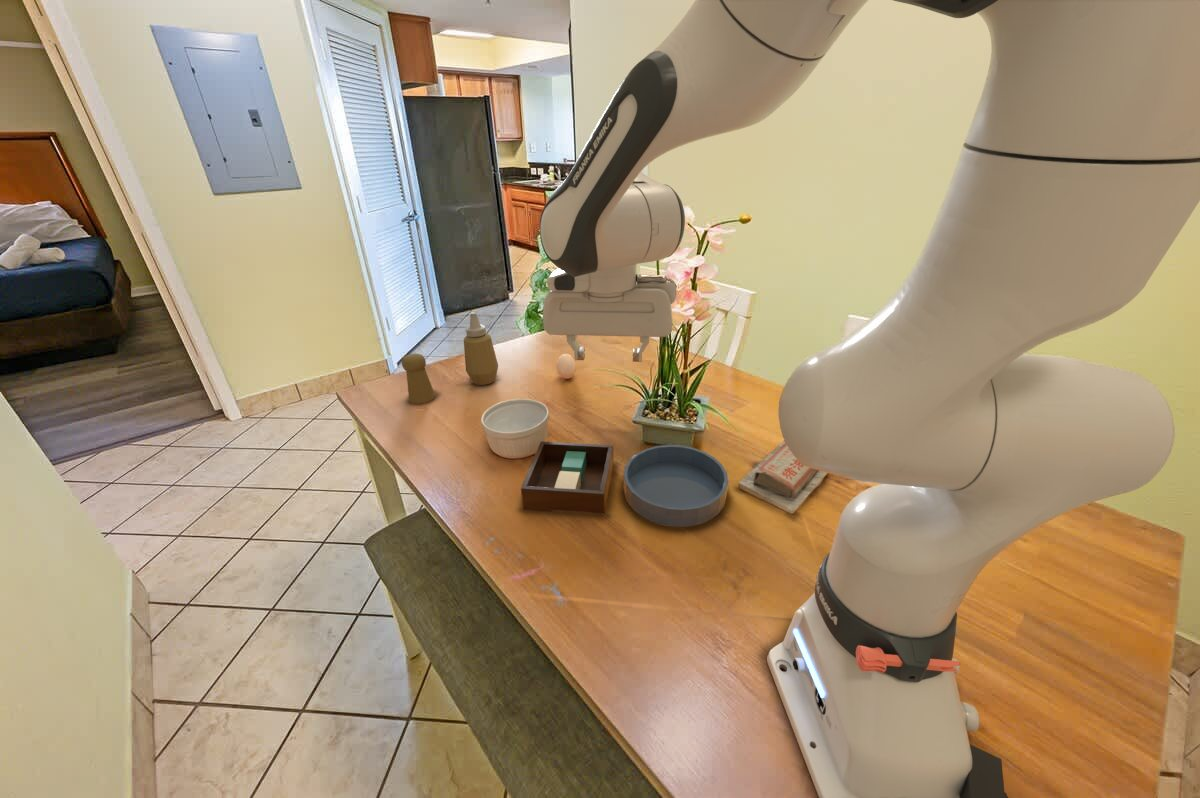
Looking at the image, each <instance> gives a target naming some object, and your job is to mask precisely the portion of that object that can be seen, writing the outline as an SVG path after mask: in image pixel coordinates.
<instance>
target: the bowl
mask: <svg viewBox="0 0 1200 798" xmlns="http://www.w3.org/2000/svg"><path fill="white" fill-rule="evenodd" d="M728 489H729V475H728V473H727V470H726V469H725V467H724V465H723V464H722V463H721V462H720V461H719V460H718V459H717V458H715V457H714V456H713V455H711V454H709V453H707V452H706V451H704V450H701V449H697V448H695V447H692V446H686V445H680V444H664V445H662V444H661V445H654V446H651V447H648V448H647V447H646V448H645V449H643V450H641V451H639V452H637V453H635V454H634V455H633V456H632V457H631V458H629V460H628V461H627V463H626V465H625V466H624V471H623V493H624V498H625V500H626V503H628V505H629V507H630V508H631V509H632V510H633V511H634V512H635V513H636V514H638V515H639V516H641V517H642V518H644V519H646V520H648V521H650V522H652V523H655V524H659V525H661V526H662V525H663V526H667V527H675V528H678V527H679V528H681V527H682V528H683V527H694V526H697V525H702V524H704V523H706V522H708V521H709V522H710V520H712V519H714V518H715V517H716V516H718V515H719V514H720V513H721V512H722V511H723V509H724V508H725V505H726V501H727V495H728Z"/></svg>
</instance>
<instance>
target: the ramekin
mask: <svg viewBox="0 0 1200 798" xmlns="http://www.w3.org/2000/svg"><path fill="white" fill-rule="evenodd" d="M549 421H550V410H549V408H548V407H547V405H546V404H545V403H543V402H541V401H539V400H537V399H532V398H531V399H530V398H513V399H512V398H511V399H506V400H503V401H500V402H498V403H495V404H492V405H491V406H490V407H488V408H487V409H486V410H485V411H484V412H483V413H482V415H481V418H480V423H481V427H482V430H483V431H484V434H485V438H486V440H487V443H488V447H489V448H490V449H491V451H492V452H493V453H495V454H496V455H498V456H499V457H502V458H505V459H514V460H516V459H524V458H528V457H531V456H533V455H535V454H536V452H537V449H538V447H539V445H540V443H541V442H548V438H549Z"/></svg>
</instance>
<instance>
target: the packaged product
mask: <svg viewBox="0 0 1200 798" xmlns="http://www.w3.org/2000/svg"><path fill="white" fill-rule="evenodd" d="M828 474H829V473H826V472H823V471H819V470H816V469H813V468H809V467H806V466H804V465H802V464H801V463H800V462H799V461H798V460H797V459H796V457H795V456H794V455H793V454H792V452H791V451H790V449H789V448H788V446H787V444H786V442H785V440H784V439H783V441H782V442H781V443H780V444H779V445H777V447H775V448H774V449H773V450H772V451H771V452H770V453H769V454H768V455H767V456H765V457H764V458H763V460H761V461H760V462H759V463H758V464H756V466H755V467H754V468H753V469H751V470H750V471H749V472H748V473H746V475H745V476H744V477H743V478H742V479H741V480H739V481H738V488H739V489H740V490H742V491H744V492H746V493H748V494H750V495H752V496H754V497H756V498H757V499H760V500H762V501H764V502H767V504H770V505H772V506H775V507H776V508H779V509H780V510H782V511H784V512H786V513H789V514H792V515H793V514H795V513H796V511H797V510H798V509H799V508H800V507H801V506H802V505H803V503H805V501H806V499H807V498H808V497H809V496H810V495H811V494H812V493H813V491H814V490H815V489H817V488H818V487H819V486H820V485H821V484H822V482H823V480H824V478H825V477H826V476H827V475H828Z"/></svg>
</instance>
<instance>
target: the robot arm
mask: <svg viewBox="0 0 1200 798" xmlns="http://www.w3.org/2000/svg"><path fill="white" fill-rule="evenodd" d="M892 1H894V2H898V3H902V4H907V5H911V6H915V7H918V8H922V9H925V10H928V11H932V12H935V13H938V14H941V15H943V16H947V17H950V18H953V19H965V18H969V17H972V16H974V15H976V14H978V15H979V16H980V17H981V18H982V20H983V21H984V22H985V24H986V26H987V29H988V32H989V36H990V43H991V44H990V45H991V46H990V47H991V49H990V51H991V52H990V61H989V65H988V71H987V75H986V78H985V81H984V85H983V88H982V91H981V95H980V98H979V100H978V103H977V106H976V109H975V112H974V114H973V117H972V120H971V122H970V125H969V128H968V130H967V133H966V136H965V139H964V143H963V145H962V147H961V150H960V154H959V156H958V159H957V162H956V164H955V167H954V170H953V172H952V176H951V179H950V181H949V184H948V186H947V189H946V191H945V194H944V197H943V200H942V202H941V205H940V207H939V210H938V212H937V215H936V216H935V219H934V222H933V224H932V227H931V229H930V231H929V233H928V236H927V239H926V240H925V243H924V245H923V248H922V250H921V252H920V254H919V256H918V258H917V260H916V262H915V264H914V265H913V267H912V268H911V270H910V272H909V273H908V274H907V276H906V277H905V279H904V280H903V282H902V283H901V285H900V286H899V287H898V288H897V290H896V291H895V292H894V293H893V295H892V296H891V297H890V298H889V299H888V300H887V301H886V302H885V303H884V304H883V305H882V306H881V308H880V309H878V310H877V311H876V312H875V313H874V314H873V315H872V316H871V317H870V318H868V319H867V320H866V321H865V322H863V324H862V325H860V326H859V327H857V328H856V329H855V330H854V331H852V332H851V333H849V334H848V335H846V336H845V337H843V338H842V339H840V340H838V341H837V342H835V343H833V344H831V345H829V346H827V347H825V348H823V349H821V350H818V351H817V352H814V353H811V354H810V355H808V356H807V357H806V358H805V359H803V360H802V361H801V362H800V363H799V364H798V365H797V366H796V367H795V368H794V369H793V370H792V372H791V373H790V374H789V376H788V377H787V379H786V382H785V384H784V385H783V388H782V390H781V394H780V397H779V400H778V401H779V402H778V411H777V413H778V414H777V415H778V423H779V429H780V432H781V436H782V438H783V441H784V440H785V442H786V444H787V446H788V448H789V449H790V451H791V452H792V454H793V455H794V456H795V457H796V459H797V460H798V461H799V462H800V463H801V464H802V465H804V466H806V467H809V468H813V469H816V470H819V471H823V472H826V473H828V474H829V475H833V476H838V477H841V478H845V479H849V480H852V481H856V482H861V483H867V484H868V483H869V484H875V485H873V486H871V487H869V488H866V489H865V490H863V491H860V492H859V493H858V494H856V495H855V496H853V498H852V499H851V500H850V501H849V502H848V503H847V504H846V505H845V507H844V508H843V510H842V511H841V514H840V517H839V521H838V524H837V527H836V531H835V534H834V538H833V541H832V543H831V548H830V551H829V552H828V553H827V554H826V555H825V557H824V558H823V561H822V563H821V564H820V565H819V568H818V571H817V574H816V581H815V585H814V592H813V593H812V594H811V596H810V597H808V598H807V600H806V601H805V602H803V604H801V606H799V607H798V608H797V610H796V611H795V612H794V613H793V614H794V615H793V617H792V619H791V622H790V623H789V626H788V629H787V631H786V634H785V636H784V639H783V641H782V642H780V643H778V644H777V645H775V646H774V647H772V648H771V649H770V650H769V652H768V654H767V657H766V662H767V666H768V668H769V671H770V673H771V675H772V679H773V681H774V683H775V686H776V689H777V692H778V694H779V697H780V700H781V702H782V705H783V707H784V711H785V712H786V716H787V718H788V721H789V723H790V726H791V729H792V731H793V734H794V736H795V740H796V742H797V743H798V747H799V749H800V752H801V754H802V757H803V760H804V762H805V765H806V767H807V771H808V773H809V775H810V778H811V780H812V784H813V785H814V788H815V791H816V794H817V796H818V798H1009V796H1008V795H1007V793H1006V792H1005V783H1004V773H1003V763H1002V759H1001V757H997V756H995V755H993V754H991V753H990V752H987V751H986V750H984V749H981V748H980V747H977V746H975V745H973V744H970V740H969V735H968V732H970V733H977V732H978V730H979V728H980V717H979V713H978V710H977V708H976V706H975V705H973V704H972V703H968V702H965V701H961V696H960V692H959V687H958V683H957V679H956V675H957V674H959V673H960V666H961V662H960V661H958V659H956V658H954V650H955V639H956V637H957V635H958V623H957V619H958V609H959V607H960V606H961V604H962V602H963V601H964V599H965V597H966V596H967V594H968V592H969V590H970V589H971V587H972V586H973V584H974V583H975V581H976V579H977V578H978V577H979V575H980V573H981V572H982V571H983V570H984V569H985V568H986V566H988V564H989V563H990V562H992V560H994V559H995V558H996V557H997V556H998V555H999V554H1001V553H1002V552H1003V551H1005V550H1006V549H1008V548H1009V547H1010V546H1012V545H1013V544H1015V543H1017V542H1018V541H1019V540H1020V539H1021V538H1024V537H1025V536H1026V535H1028V534H1030V533H1031V532H1033V531H1034V530H1036V529H1038V528H1039V527H1041V526H1043V525H1045V524H1047V523H1048V522H1050V521H1052V520H1055V519H1056V518H1058V517H1060V516H1062V515H1064V514H1066V513H1069V512H1070V511H1073V510H1076V509H1078V508H1081V507H1083V506H1086V505H1089V504H1092V503H1095V502H1097V501H1100V500H1104V499H1108V498H1111V497H1115V496H1119V495H1122V494H1128V493H1130V492H1133V491H1136V490H1139V489H1140V488H1142V487H1144V486H1145V485H1147V484H1148V483H1150V482H1151V481H1152V480H1154V478H1156V476H1157V475H1158V474H1159V473H1160V472H1161V470H1162V469H1163V468H1164V466H1165V465H1166V464H1167V461H1168V460H1169V457H1170V455H1171V453H1172V450H1173V447H1174V441H1175V436H1176V435H1175V434H1176V433H1175V429H1176V428H1175V421H1174V417H1173V413H1172V411H1171V407H1170V406H1169V403H1168V402H1167V400H1166V398H1165V397H1164V395H1163V394H1162V392H1161V391H1160V389H1159V388H1158V387H1157V386H1156V385H1155V384H1153V382H1152V381H1150V380H1149V379H1148V378H1147V377H1145V376H1142V375H1141V374H1139V373H1136V372H1133V371H1132V370H1128V369H1124V368H1118V367H1116V366H1111V365H1107V364H1102V363H1098V362H1094V361H1089V360H1084V359H1080V358H1074V357H1069V356H1065V355H1057V354H1037V353H1036V354H1034V353H1033V354H1032V353H1027V352H1029V351H1030V350H1032V349H1034V348H1036V347H1038V346H1040V345H1042V344H1044V343H1045V342H1048V341H1050V340H1052V339H1054V338H1057V337H1060V336H1063V335H1065V334H1068V333H1071V332H1074V331H1077V330H1080V329H1082V328H1085V327H1087V326H1090V325H1093V324H1095V323H1097V322H1099V321H1102V320H1104V319H1106V318H1108V317H1110V316H1111V315H1113V314H1114V313H1116V312H1118V311H1120V310H1121V309H1123V308H1124V307H1125V306H1126V305H1128V304H1129V303H1131V302H1132V301H1133V299H1135V298H1136V297H1137V296H1138V295H1139V294H1140V293H1141V292H1142V291H1143V289H1144V288H1145V287H1146V286H1147V284H1148V282H1149V280H1150V279H1151V277H1152V276H1153V274H1154V272H1155V271H1156V269H1157V268H1158V266H1159V265H1160V263H1161V262H1162V260H1163V259H1164V257H1165V255H1166V254H1167V252H1168V251H1169V249H1170V248H1171V246H1172V245H1173V243H1174V241H1176V239H1177V237H1178V236H1179V234H1180V233H1181V231H1182V230H1183V228H1184V226H1185V225H1186V223H1187V222H1188V220H1189V218H1190V217H1191V216H1192V213H1193V212H1194V211H1195V209H1196V207H1197V206H1198V204H1199V203H1200V0H892ZM867 2H869V0H695V1H694V2H693V3H692V5H691V6H690V8H689V9H688V11H686V14H684V16H683V17H682V19H681V20H680V21H679V22H678V24H677V25H676V26H675V27H674V28H673V29H672V30H671V32H670V33H669V34H668V35H667V37H665V38H664V40H663V41H662V42H661V43H660V44H658V46H656V48H654V50H653V51H652V52H650V53H648V54H647V55H646V56H644V58H642V59H641V60H640V61H638V62H637V64H635V65H634V67H633V68H632V69H630V71H629V73H627V75H626V77H625V78H624V79H623V80H622V82H621V84H620V85H619V87H618V88H617V90H616V92H615V94H614V95H613V96H612V98H611V100H610V102H609V103H608V104H607V107H606V109H605V110H604V112H603V114H602V115H601V117H600V119H599V120H598V122H597V124H596V126H595V128H594V129H593V132H592V133H591V135H589V138H588V140H587V141H586V143H585V146H584V147H583V149H582V151H580V154H579V156H578V157H577V159H576V161H575V162H574V165H573V166H572V167H571V170H570V171H569V173H568V175H567V177H566V178H565V179H564V180H563V182H561V183H560V184H559V185H558V186H557V188H555V189H554V191H553V192H552V194H551V195H549V198H548V199H547V201H546V202H545V205H544V207H543V208H542V211H541V215H540V217H539V218H540V219H539V238H540V244H541V247H542V250H543V252H544V254H545V256H546V258H547V259H548V260H549V261H551V263H552V264H553V265H554V266H556V267H557V268H556V269H554V270H553V271H552V272H551V273H550V274H549V275H548V277H547V280H546V286H547V288H548V290H549V291H548V292H547V293H546V295H545V297H544V300H543V307H542V325H543V330H544V331H545V332H546V333H547V334H548V335H549V336H566V342H567V344H568V345H569V346H570V348H571V349H572V352H573V353H574V361H585V359H586V348H585V346H580V344H579V343H578V341H577V338H578V336H586V337H587V336H589V337H590V336H591V337H592V336H594V337H634V338H635V337H638V338H639V343H640V345H639V346H638V347H633V349H632V362H633V363H642V362H643V353H644V351H645V350H646V348H647V347H648V345H649V344H650V338H667V337H669V336H670V335H671V333H672V332H673V310H672V309H673V308H672V305H673V304H674V302H675V301H676V299H677V284H676V282H675V280H673V279H672V278H670V277H668V276H667V275H666V274H658V275H652V274H637V265H639V264H647V263H653V262H657V261H660V260H663V259H666V258H669V257H671V256H673V254H675V252H676V251H677V250H678V249H679V247H680V245H681V242H682V240H683V237H684V233H685V228H686V217H685V216H686V215H685V208H684V205H683V202H682V200H681V198H680V196H679V195H678V193H677V192H676V191H675V189H673V188H672V186H670V185H668V184H666V183H661V182H658V181H657V180H655V179H653V178H651V177H649V176H647V174H645V173H644V172H643V170H644V169H645V168H646V167H647V166H648V165H650V163H652V162H653V161H654V160H656V159H658V158H660V156H663V155H665V154H667V153H668V152H670V151H673V150H675V149H677V148H679V147H682V146H685V145H688V144H691V143H694V142H697V141H699V140H700V141H701V140H703V139H707V138H711V137H714V136H719V135H723V134H727V133H731V132H734V131H739V130H742V129H746V128H748V127H751V126H753V125H756V124H759V123H760V122H762V121H764V120H765V119H767V118H768V117H769V116H771V115H772V114H773V113H775V111H777V110H778V109H779V108H780V107H782V106H783V104H785V103H786V102H787V101H788V100H789V99H790V98H791V97H792V96H793V95H794V94H795V93H796V92H797V91H798V90H799V89H800V88H801V86H803V84H804V83H805V82H806V80H807V79H808V78H809V77H810V76H811V74H812V73H813V71H814V70H815V69H816V68H817V66H818V65H819V63H820V62H822V59H824V57H825V56H826V55H827V53H828V52H829V51H830V50H831V48H832V47H833V45H834V44H835V42H836V41H837V40H838V39H839V37H840V35H842V33H843V32H844V30H845V29H846V28H847V27H848V25H849V24H850V22H851V21H852V20H853V19H854V17H855V16H856V15H857V14H858V13H859V11H861V9H862V8H863V7H864V6H865V5H866V4H867ZM781 669H783V671H782V670H781Z"/></svg>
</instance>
